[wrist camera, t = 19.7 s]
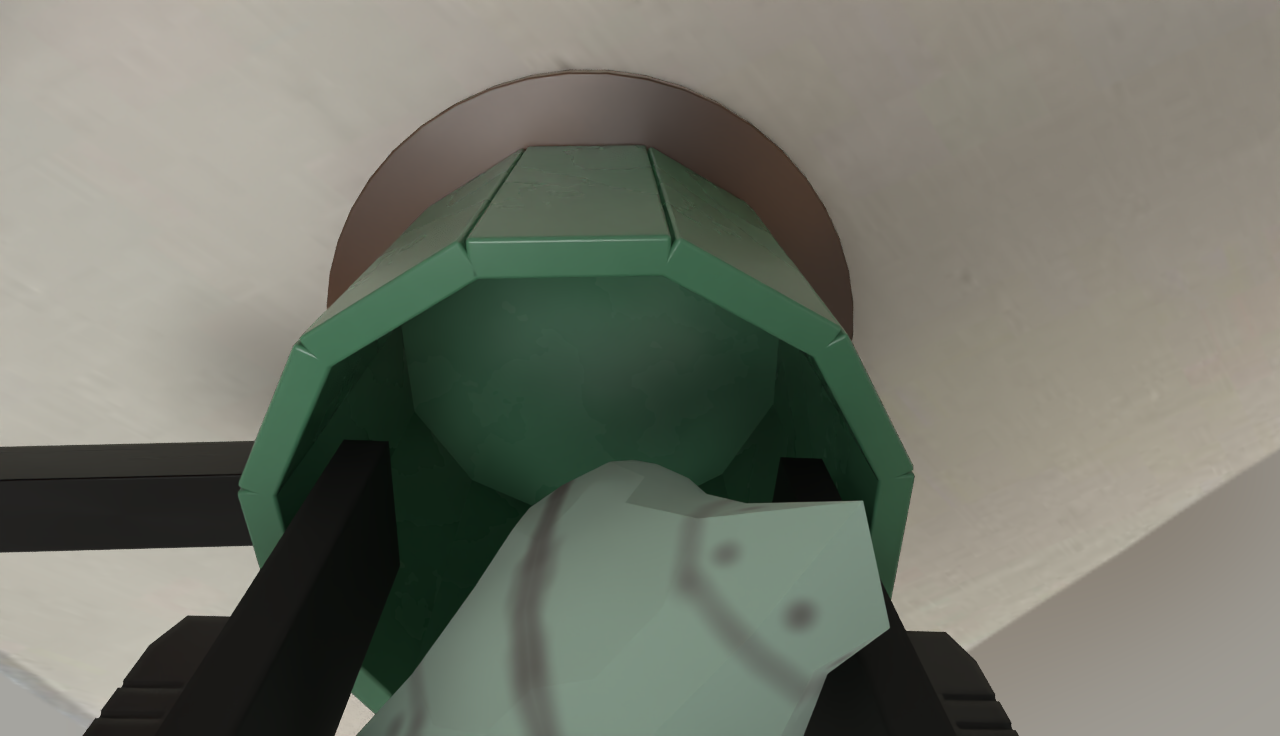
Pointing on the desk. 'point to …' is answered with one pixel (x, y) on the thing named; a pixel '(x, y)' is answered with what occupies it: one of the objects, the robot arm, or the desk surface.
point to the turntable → (595, 117)
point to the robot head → (650, 617)
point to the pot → (512, 388)
